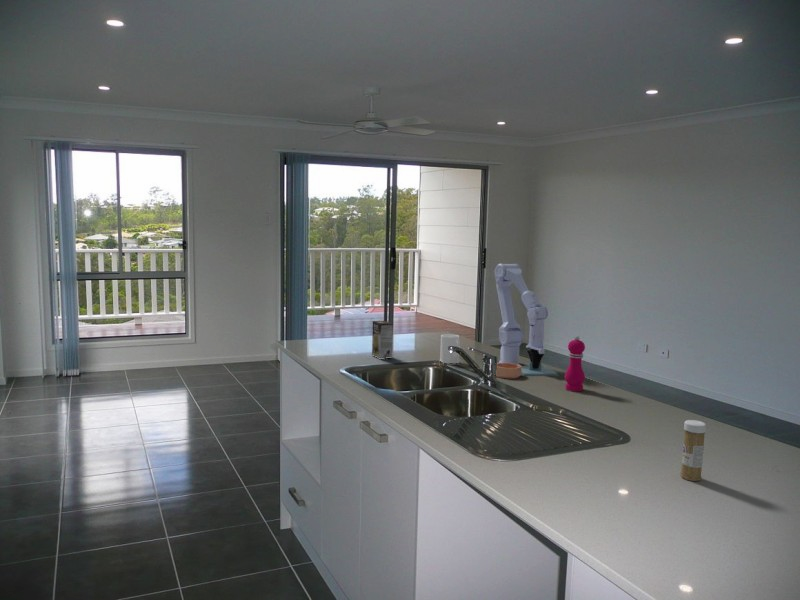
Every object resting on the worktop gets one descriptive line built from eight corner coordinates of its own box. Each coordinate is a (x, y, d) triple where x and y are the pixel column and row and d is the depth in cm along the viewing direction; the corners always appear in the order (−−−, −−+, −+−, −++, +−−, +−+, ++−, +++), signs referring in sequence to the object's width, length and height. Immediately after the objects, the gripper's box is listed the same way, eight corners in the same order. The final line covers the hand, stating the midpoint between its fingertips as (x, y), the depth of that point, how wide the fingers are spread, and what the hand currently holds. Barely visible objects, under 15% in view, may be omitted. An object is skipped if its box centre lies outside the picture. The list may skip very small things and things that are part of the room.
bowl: (490, 373, 250) (491, 362, 250) (515, 373, 252) (515, 362, 251) (498, 379, 240) (498, 368, 239) (523, 379, 241) (524, 368, 241)
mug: (466, 365, 266) (467, 337, 264) (449, 366, 262) (450, 338, 261) (452, 360, 276) (453, 333, 275) (436, 361, 273) (436, 334, 271)
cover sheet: (513, 367, 260) (513, 359, 260) (544, 367, 262) (545, 359, 262) (523, 375, 247) (524, 366, 246) (557, 375, 249) (557, 366, 248)
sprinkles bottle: (676, 474, 147) (680, 419, 146) (694, 474, 147) (698, 419, 146) (687, 482, 142) (691, 425, 141) (705, 481, 143) (710, 425, 141)
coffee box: (371, 356, 281) (372, 320, 279) (384, 355, 283) (385, 320, 282) (379, 359, 273) (380, 323, 271) (392, 358, 275) (393, 323, 274)
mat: (509, 368, 261) (509, 367, 261) (546, 368, 264) (546, 367, 263) (522, 377, 246) (522, 376, 246) (560, 376, 248) (560, 375, 248)
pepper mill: (582, 387, 231) (585, 334, 229) (586, 392, 224) (589, 337, 222) (562, 386, 232) (565, 333, 229) (565, 391, 224) (568, 337, 222)
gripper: (521, 332, 260) (519, 364, 261) (533, 338, 245) (531, 371, 247) (537, 332, 260) (535, 364, 262) (550, 338, 246) (548, 371, 248)
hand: (534, 367), depth 254 cm, fingers closed on cover sheet
